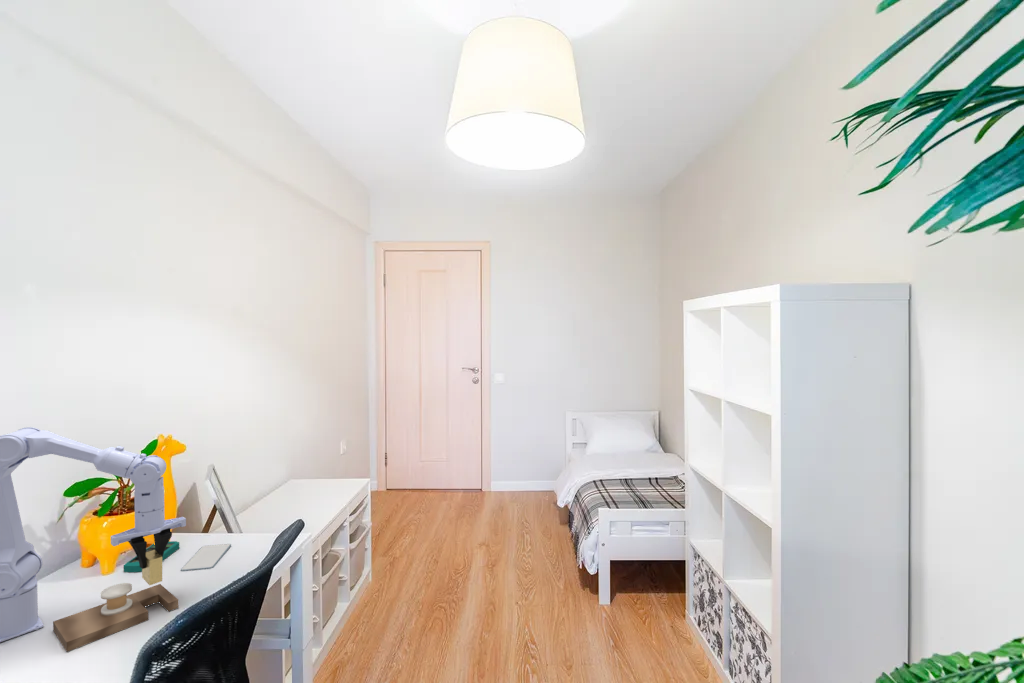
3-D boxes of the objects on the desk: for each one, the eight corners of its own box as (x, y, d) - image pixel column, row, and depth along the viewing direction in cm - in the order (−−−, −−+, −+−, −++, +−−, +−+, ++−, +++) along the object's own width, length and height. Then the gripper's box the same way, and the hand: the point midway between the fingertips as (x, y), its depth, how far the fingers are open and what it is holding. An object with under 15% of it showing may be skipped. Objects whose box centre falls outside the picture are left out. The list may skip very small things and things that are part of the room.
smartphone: (179, 570, 134) (202, 545, 148) (179, 573, 134) (202, 548, 148) (212, 567, 135) (232, 543, 150) (212, 570, 135) (232, 546, 150)
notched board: (66, 652, 100) (66, 642, 100) (53, 630, 107) (53, 621, 107) (178, 607, 116) (178, 599, 116) (160, 591, 123) (160, 583, 123)
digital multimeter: (121, 574, 133) (121, 564, 133) (154, 550, 147) (154, 541, 147) (150, 573, 134) (150, 562, 134) (180, 549, 148) (180, 539, 148)
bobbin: (105, 618, 108) (104, 598, 108) (97, 610, 112) (97, 590, 111) (135, 607, 113) (135, 588, 113) (127, 599, 116) (127, 580, 116)
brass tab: (149, 585, 114) (149, 560, 113) (142, 577, 117) (142, 553, 116) (162, 581, 116) (162, 556, 115) (154, 573, 119) (154, 549, 118)
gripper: (117, 521, 108) (118, 582, 109) (190, 503, 120) (191, 557, 120) (107, 514, 112) (108, 572, 113) (179, 497, 124) (180, 550, 124)
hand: (150, 564), depth 117 cm, fingers closed on brass tab, 2 cm apart
